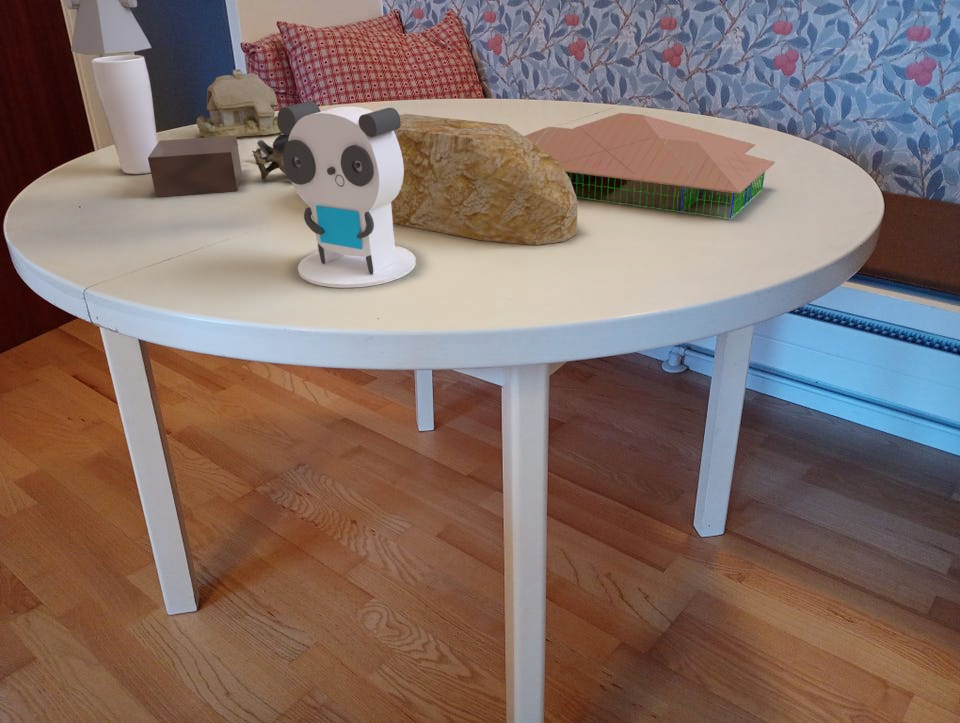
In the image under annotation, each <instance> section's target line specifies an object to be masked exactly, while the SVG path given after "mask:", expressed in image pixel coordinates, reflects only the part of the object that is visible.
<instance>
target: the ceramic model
mask: <svg viewBox="0 0 960 723" xmlns="http://www.w3.org/2000/svg"><path fill="white" fill-rule="evenodd" d="M206 94H207V95H206V104H207V105H206V110H207V111H209V118H206V117H204V115H203V116H202V115H200V116H198V117H197V118H196V126H197V129H198V131H199V134H200V136H201V137H202V138H207V137H222V136H236V138H238V137H249V136H250V137H251V136H265V135H273V134H279V133H281V131H280V130H279V128H278V125H277V115H275V114H276V113H275V107H276V106H277V105H278V100H277V96H276V92H275V91H274V89H273V88H272V87H271V86H269V85H268V84H267V83H266V82H264V81H263V80H262V79H261V77H259V75H258V74H256V73H254V72H249V73H247V72H246V73H243V71H242V70H241V69H239V68H238V69H233V70H232V74H225V75H220V76H216V77H215V80H214V81H213V82H212V83H211V84H210V85H208V88H207V90H206Z"/></svg>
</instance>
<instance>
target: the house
mask: <svg viewBox="0 0 960 723" xmlns="http://www.w3.org/2000/svg"><path fill="white" fill-rule="evenodd" d="M523 136H524V137H526V138H527V139H528V140H530V141H531V142H533V143H534V144H535V145H537V146H538V147H539V148H541V149H542V150H543V151H545V152H546V153H547V154H549V155H550V156H551V157H553V158H554V159H556V161H557V162H558V163H559V165H560V166H561V167H562V168H563V170H564V171H565V172H566V174H567V175H568V173H569V178H570V181H571V183H572V184H576V188H575V195H576V198H577V199H584V200H585V199H586V200H593V201H600V202H607V203H614V204H620V205H627V206H628V205H629V206H635V207H643V208H648V209H656V210H663V211H671V212H677V213H685V214H692V215H699V216H707V217H714V218H721V219H727V220H728V219H729V220H732V219H733V217H735V216H736V215H737V214H739V213H740V211H741V210H742V209H743V208H744V207H745V206H747V205H748V204H749V203H750V202H751V201H752V200H754V198H755V197H756V196H757V195H759V194H760V193H761V192H762V191H763V188H764V181H765V175H766V174H765V173H766V171H767V170H768V169H770V168H771V167H772V166H773V165H774V164H775V163H776V162H775V161H774V160H770V159H766V158H761V157H757V156H754V155H749V154H746V153H747V152H749V151H751V149H753V148H754V147H755V146H756V144H755V143H751V142H747V141H744V140H740V139H736V138H733V137H729V136H725V135H720V134H717V133H714V132H710V131H706V130H701V129H698V128H694V127H690V126H687V125H682V124H679V123H675V122H671V121H667V120H663V119H660V118H656V117H652V116H648V115H646V114H645V115H644V114H637V113H629V112H628V113H627V112H618V113H616V114H613V115H609V116H607V117H604V118H600V119H597V120H594V121H591V122H588V123H585V124H582V125H579V126H576V127H573V128H569V127H568V128H567V127H559V126H558V127H557V126H547V127H544V128H541V129H538V130H536V131H533V132H531V133H528V134H525V135H523ZM573 174H575V177H574V178H573ZM585 175H587V176H588V184H587V183H584V181H585ZM591 176H595V180H594V181H595V182H594V184H593V186H594V197H596V194H597V187H600V199H596V198H590V194H588V197H584V189H582V193H581V194H582V195H581V196H578V184H579V185H582V186H588V191H590V189H591V188H590V187H591V186H592V184H591ZM597 177H601V182H603V181H604V180H603V178H607V186H606V185H603V184H600V185H597ZM610 178H612V179H618V180H620V187H616V181H614V183H613V184H614V186H613V198H616V197H615V194H616V189H617V190H620V194H619V202H617V201H610V200H609V192H607V194H606V196H607V197H606V200H603V188H607V190H609V189H612V187H610ZM572 180H575V182H573V181H572ZM623 180H627V181H633V189H631V192H632V191H633V192H635V191H636V192H637V193H639V201H641V199H642V193H646V197H648V194H650V192H649V184H647V187H646V188H647V189H646V191H645V190H644V191H643V190H642V188H640V190H635V188H636V182H640V187H642V186H643V185H642V183H643V182H645V183H652V184H654V185H653V192H651V194H652V196H653V198H652V200H653V201H652V206H648V198H646V201H645V205H641V203H639V204H635V193H633V197H632V203H628V200H626V201H625V202H622V191H626V198H628V194H629V191H630V188H629V183H627V184H626V185H627V187H626V189H624V188H622V186H623V184H622V183H623V182H622V181H623ZM656 184H658V185H660V192H655V191H656ZM663 185H667V191H669V188H670V186H674V191H676V189H677V188H676V187H678V189H677V190H678V191H677V195H676V192H674V193H673V194H669V192H667V193H666V203H668V201H669V197H670V196H672V197H673V202H675V201H676V198H677V199H679V197H680V199H681V200H680V209H679V210H678V207H679V200H677V201H676V210H675V203H673V205H672V209H668V204H666V206H665V208H661V206H659V207H655V206H654V204H655V194H656V195H659V205H661V201H662V196H665V194H664V193H661V192H662V191H663V190H662V189H663ZM680 187H682V188H681V195H680ZM700 190H701V196H702V198H700ZM714 191H715V192H716V195H715V196H714ZM708 192H709V196H708V195H706V194H707V193H708ZM721 192H723V196H721V194H719V193H721ZM729 193H730V195H729ZM725 194H726V197H725ZM718 195H719V196H718ZM706 197H708V198H709V199H706ZM713 198H715V200H713ZM721 199H722V201H721ZM725 199H726V201H725ZM728 200H729V202H728ZM698 201H703V208H702V213H697V212H698ZM706 201H707V202H710V208H712V206H713V203H718V205H717V214H716V215H712V209H710V211H709V214H704V212H705V204H706ZM694 203H696V207H695V212H691V211H690V210H691V205H693V204H694ZM720 204H725V209H724V214H726V212H727V204H729V205H730V210H729V217H726V215H724V216H719V209H720ZM686 209H688V211H685V210H686Z"/></svg>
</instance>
